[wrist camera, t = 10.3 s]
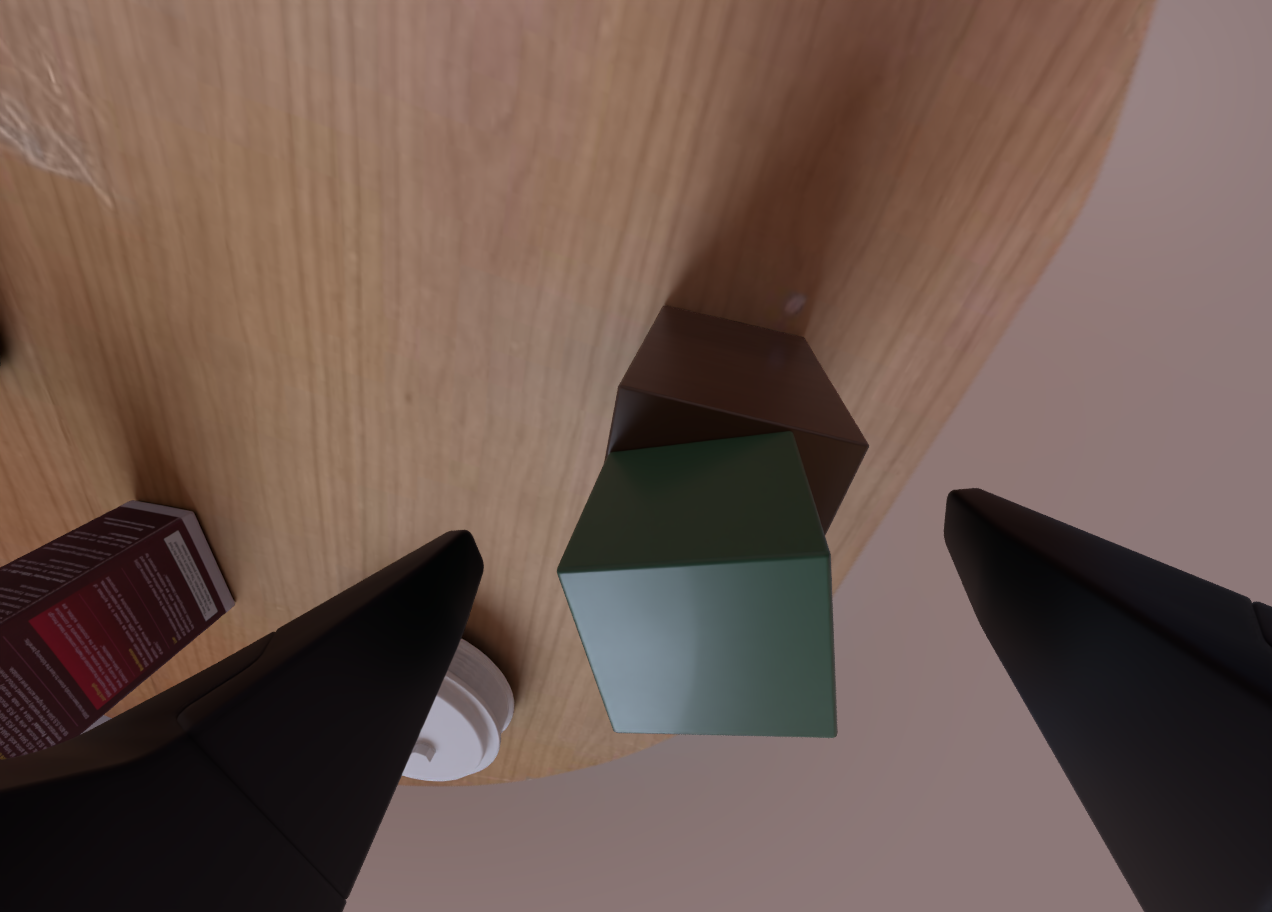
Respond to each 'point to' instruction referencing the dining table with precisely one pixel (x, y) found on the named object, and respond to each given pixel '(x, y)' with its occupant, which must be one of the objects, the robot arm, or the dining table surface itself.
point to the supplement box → (99, 619)
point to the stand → (737, 397)
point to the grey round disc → (463, 720)
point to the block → (706, 591)
